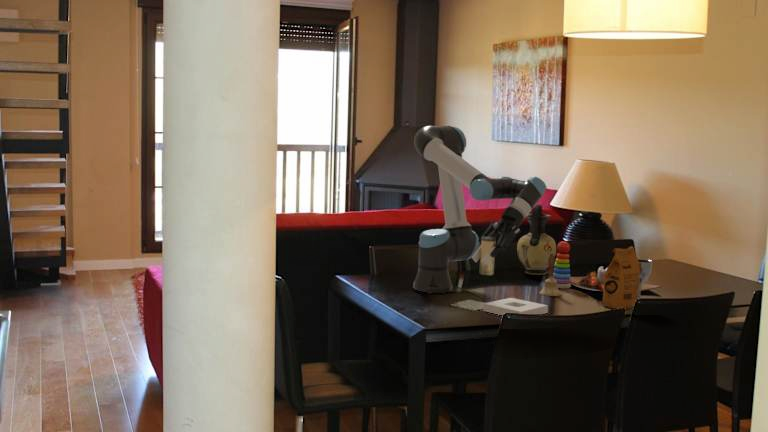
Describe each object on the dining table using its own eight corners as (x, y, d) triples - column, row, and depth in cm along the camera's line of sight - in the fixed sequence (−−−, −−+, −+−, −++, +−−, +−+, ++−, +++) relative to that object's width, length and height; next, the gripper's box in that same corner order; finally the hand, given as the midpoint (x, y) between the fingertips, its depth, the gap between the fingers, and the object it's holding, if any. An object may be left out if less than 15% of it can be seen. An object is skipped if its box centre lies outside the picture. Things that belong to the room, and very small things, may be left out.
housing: (483, 311, 307) (483, 303, 306) (510, 305, 318) (510, 297, 318) (520, 320, 296) (520, 311, 295) (547, 313, 307) (547, 305, 307)
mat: (448, 305, 315) (448, 304, 315) (469, 301, 324) (470, 299, 323) (474, 311, 307) (475, 310, 307) (495, 307, 315) (496, 305, 315)
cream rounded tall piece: (515, 268, 396) (519, 202, 392) (553, 270, 393) (557, 204, 390) (516, 275, 378) (519, 206, 375) (555, 277, 376) (559, 208, 372)
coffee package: (597, 305, 323) (601, 246, 321) (620, 302, 330) (624, 244, 328) (618, 310, 315) (622, 250, 313) (641, 307, 322) (645, 248, 320)
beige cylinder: (476, 273, 311) (478, 237, 309) (485, 271, 315) (487, 235, 313) (487, 275, 308) (490, 239, 306) (496, 274, 311) (498, 238, 309)
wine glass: (646, 302, 331) (649, 263, 330) (625, 299, 336) (628, 260, 334) (652, 298, 338) (654, 260, 336) (631, 295, 342) (634, 258, 341)
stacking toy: (570, 289, 351) (573, 243, 349) (550, 288, 352) (553, 242, 350) (570, 286, 359) (573, 240, 356) (551, 284, 360) (553, 239, 358)
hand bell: (548, 296, 336) (550, 255, 334) (535, 292, 343) (537, 252, 341) (565, 295, 340) (567, 254, 338) (552, 291, 347) (554, 251, 345)
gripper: (539, 223, 310) (502, 273, 303) (503, 216, 325) (467, 263, 317) (529, 209, 306) (491, 259, 299) (493, 202, 321) (457, 250, 313)
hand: (479, 261), depth 308 cm, fingers closed on beige cylinder, 5 cm apart
